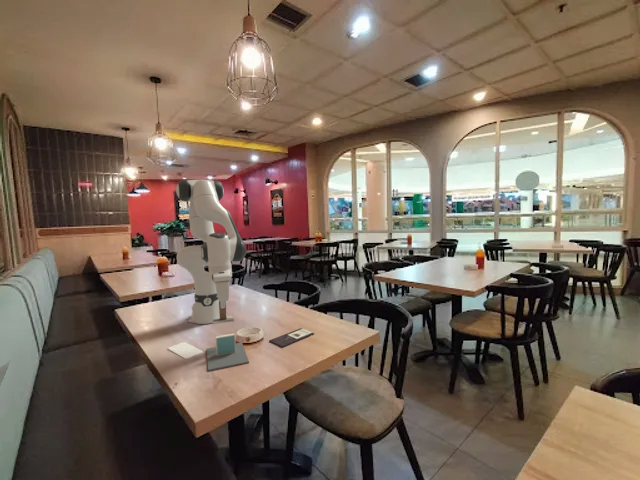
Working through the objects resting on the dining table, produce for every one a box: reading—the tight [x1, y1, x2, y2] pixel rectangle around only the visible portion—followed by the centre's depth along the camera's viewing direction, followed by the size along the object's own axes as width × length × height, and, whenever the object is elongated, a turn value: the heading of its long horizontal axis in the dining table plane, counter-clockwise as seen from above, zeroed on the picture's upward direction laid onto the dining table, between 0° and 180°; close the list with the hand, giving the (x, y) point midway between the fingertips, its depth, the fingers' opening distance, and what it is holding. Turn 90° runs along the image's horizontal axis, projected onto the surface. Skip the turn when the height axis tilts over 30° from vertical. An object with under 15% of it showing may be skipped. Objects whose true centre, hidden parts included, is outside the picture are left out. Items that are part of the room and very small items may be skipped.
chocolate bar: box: [268, 327, 315, 349], centre depth 131 cm, size 9×1×18 cm
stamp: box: [212, 301, 235, 325], centre depth 123 cm, size 4×8×10 cm, turn 112°
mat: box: [206, 341, 250, 372], centre depth 116 cm, size 18×14×1 cm
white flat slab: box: [167, 341, 203, 360], centre depth 121 cm, size 7×1×15 cm
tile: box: [215, 333, 236, 356], centre depth 117 cm, size 2×7×7 cm, turn 112°
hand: (222, 306), depth 123 cm, fingers closed on stamp, 2 cm apart
